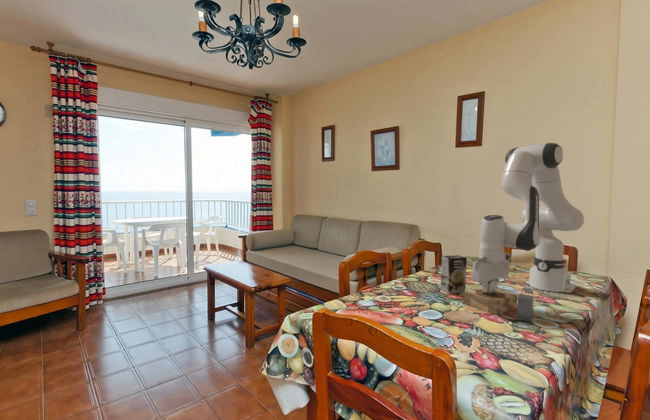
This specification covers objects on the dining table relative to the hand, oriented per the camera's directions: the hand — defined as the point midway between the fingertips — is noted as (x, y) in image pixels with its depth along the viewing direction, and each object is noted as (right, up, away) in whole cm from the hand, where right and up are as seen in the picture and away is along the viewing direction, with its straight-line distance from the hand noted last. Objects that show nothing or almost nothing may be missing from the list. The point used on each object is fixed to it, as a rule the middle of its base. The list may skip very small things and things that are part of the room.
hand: (490, 290), depth 130 cm
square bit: (+7, -7, -12) cm, 15 cm away
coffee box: (-7, -5, +19) cm, 21 cm away
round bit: (0, -4, 0) cm, 4 cm away
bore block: (0, -6, 0) cm, 6 cm away
